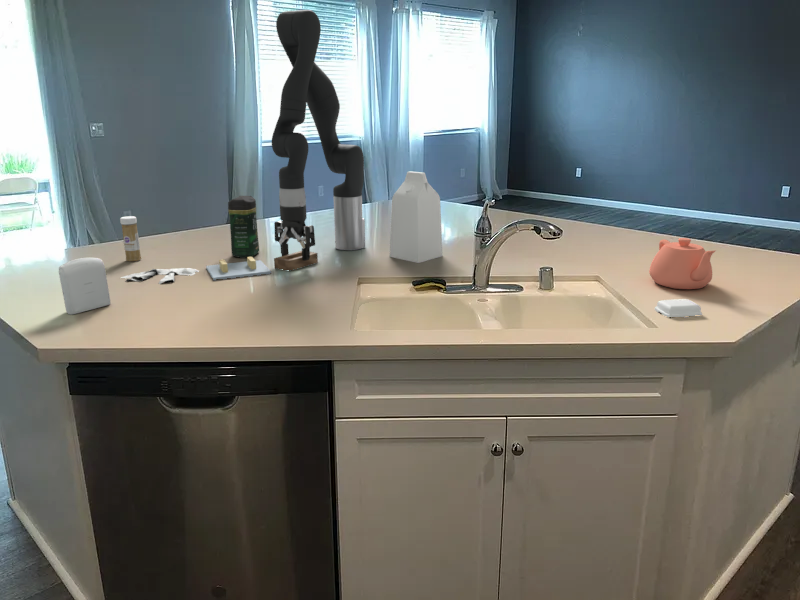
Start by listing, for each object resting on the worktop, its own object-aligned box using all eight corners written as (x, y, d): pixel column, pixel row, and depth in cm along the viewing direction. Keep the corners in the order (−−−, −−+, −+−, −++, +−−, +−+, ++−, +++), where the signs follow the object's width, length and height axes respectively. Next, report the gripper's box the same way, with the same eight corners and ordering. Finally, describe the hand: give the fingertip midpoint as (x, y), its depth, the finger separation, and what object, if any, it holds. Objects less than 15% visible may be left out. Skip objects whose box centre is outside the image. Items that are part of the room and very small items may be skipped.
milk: (442, 256, 201) (443, 172, 193) (418, 263, 193) (418, 175, 185) (414, 250, 209) (414, 169, 201) (389, 256, 201) (388, 172, 193)
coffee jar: (254, 258, 199) (249, 198, 194) (229, 258, 200) (223, 198, 194) (262, 251, 209) (258, 194, 203) (238, 250, 209) (233, 193, 203)
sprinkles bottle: (123, 262, 196) (117, 218, 192) (129, 258, 201) (123, 215, 196) (138, 261, 196) (132, 218, 192) (144, 258, 201) (138, 215, 197)
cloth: (209, 271, 188) (208, 263, 187) (169, 293, 168) (168, 284, 167) (146, 268, 192) (145, 260, 191) (100, 289, 172) (98, 280, 171)
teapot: (734, 295, 161) (741, 247, 157) (680, 299, 158) (686, 250, 154) (680, 272, 181) (686, 229, 177) (632, 275, 178) (637, 232, 175)
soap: (667, 319, 145) (669, 307, 144) (651, 310, 151) (653, 298, 150) (704, 317, 146) (706, 305, 145) (687, 308, 152) (688, 296, 151)
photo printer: (71, 316, 149) (62, 264, 145) (62, 312, 151) (53, 261, 148) (113, 305, 156) (106, 256, 152) (105, 301, 159) (97, 253, 155)
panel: (260, 262, 195) (259, 252, 194) (271, 273, 182) (270, 262, 181) (206, 268, 188) (205, 257, 187) (213, 280, 176) (212, 269, 175)
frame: (303, 259, 197) (302, 250, 196) (317, 262, 194) (317, 253, 193) (274, 268, 188) (273, 258, 187) (289, 271, 185) (288, 261, 184)
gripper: (266, 202, 186) (269, 257, 191) (301, 207, 178) (304, 264, 183) (284, 199, 192) (287, 252, 197) (319, 204, 184) (321, 259, 189)
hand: (295, 258), depth 190 cm, fingers open, 8 cm apart
